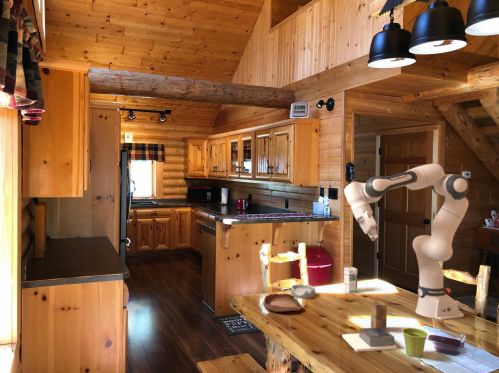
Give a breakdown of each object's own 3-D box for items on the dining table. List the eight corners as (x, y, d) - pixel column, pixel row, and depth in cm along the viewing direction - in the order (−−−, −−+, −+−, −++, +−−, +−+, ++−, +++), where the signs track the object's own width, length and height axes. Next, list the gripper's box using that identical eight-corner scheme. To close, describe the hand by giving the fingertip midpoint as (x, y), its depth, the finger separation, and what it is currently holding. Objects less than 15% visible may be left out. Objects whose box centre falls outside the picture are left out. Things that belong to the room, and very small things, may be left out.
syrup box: (348, 293, 239) (348, 269, 239) (343, 291, 245) (344, 267, 244) (357, 293, 241) (357, 268, 240) (352, 290, 246) (352, 266, 246)
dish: (314, 299, 228) (314, 291, 228) (289, 298, 230) (289, 289, 230) (315, 292, 242) (315, 284, 242) (292, 291, 245) (292, 283, 245)
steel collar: (381, 335, 175) (382, 327, 174) (394, 345, 164) (394, 336, 164) (359, 336, 173) (359, 328, 173) (370, 346, 163) (370, 338, 163)
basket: (310, 313, 206) (310, 303, 206) (274, 318, 199) (274, 308, 199) (290, 300, 227) (290, 291, 227) (257, 304, 220) (257, 295, 219)
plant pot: (420, 348, 163) (421, 327, 163) (432, 359, 154) (432, 336, 154) (397, 349, 163) (398, 327, 163) (407, 359, 154) (408, 337, 153)
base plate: (379, 334, 178) (379, 332, 178) (396, 349, 163) (396, 346, 163) (342, 336, 175) (342, 334, 175) (356, 351, 161) (356, 349, 160)
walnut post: (381, 327, 187) (381, 301, 186) (386, 331, 182) (386, 304, 181) (370, 327, 186) (371, 301, 185) (375, 332, 181) (376, 305, 181)
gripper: (371, 206, 190) (384, 233, 186) (366, 214, 210) (378, 239, 206) (359, 211, 191) (372, 238, 186) (355, 219, 210) (366, 244, 206)
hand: (375, 239), depth 196 cm, fingers open, 8 cm apart
